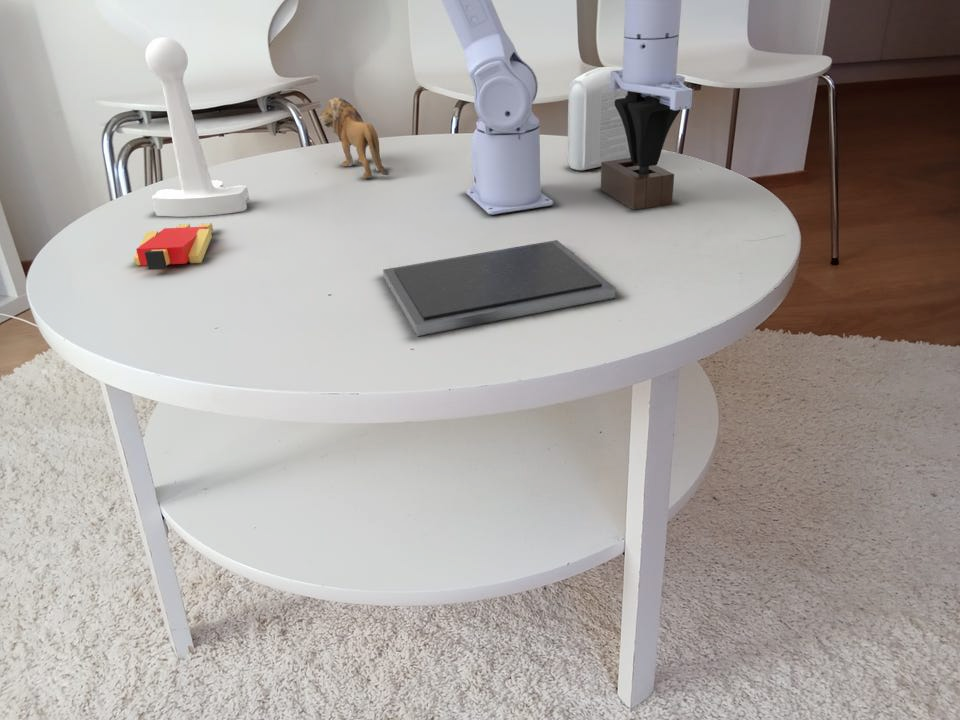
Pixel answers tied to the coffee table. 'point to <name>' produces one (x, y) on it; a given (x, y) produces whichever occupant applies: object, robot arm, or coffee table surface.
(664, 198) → the holder
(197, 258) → the toy figure
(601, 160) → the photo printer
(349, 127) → the lion figurine
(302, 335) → the coffee table surface
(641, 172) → the stylus
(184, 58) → the joystick
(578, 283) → the tablet
